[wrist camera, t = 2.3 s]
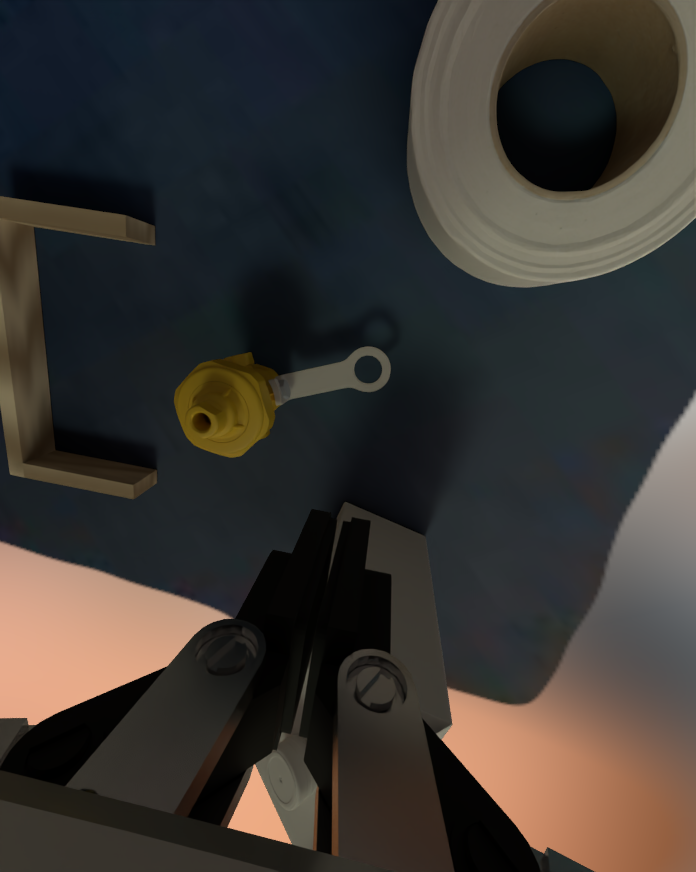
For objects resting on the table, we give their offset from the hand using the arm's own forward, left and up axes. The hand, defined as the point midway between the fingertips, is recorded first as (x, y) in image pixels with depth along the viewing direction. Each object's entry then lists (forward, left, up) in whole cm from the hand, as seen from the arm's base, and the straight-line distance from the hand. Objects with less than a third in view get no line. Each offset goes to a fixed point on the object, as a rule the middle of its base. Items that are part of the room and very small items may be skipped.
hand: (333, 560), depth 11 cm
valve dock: (0, -21, -18) cm, 28 cm away
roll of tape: (-17, +7, -19) cm, 27 cm away
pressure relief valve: (-2, -5, -19) cm, 19 cm away
